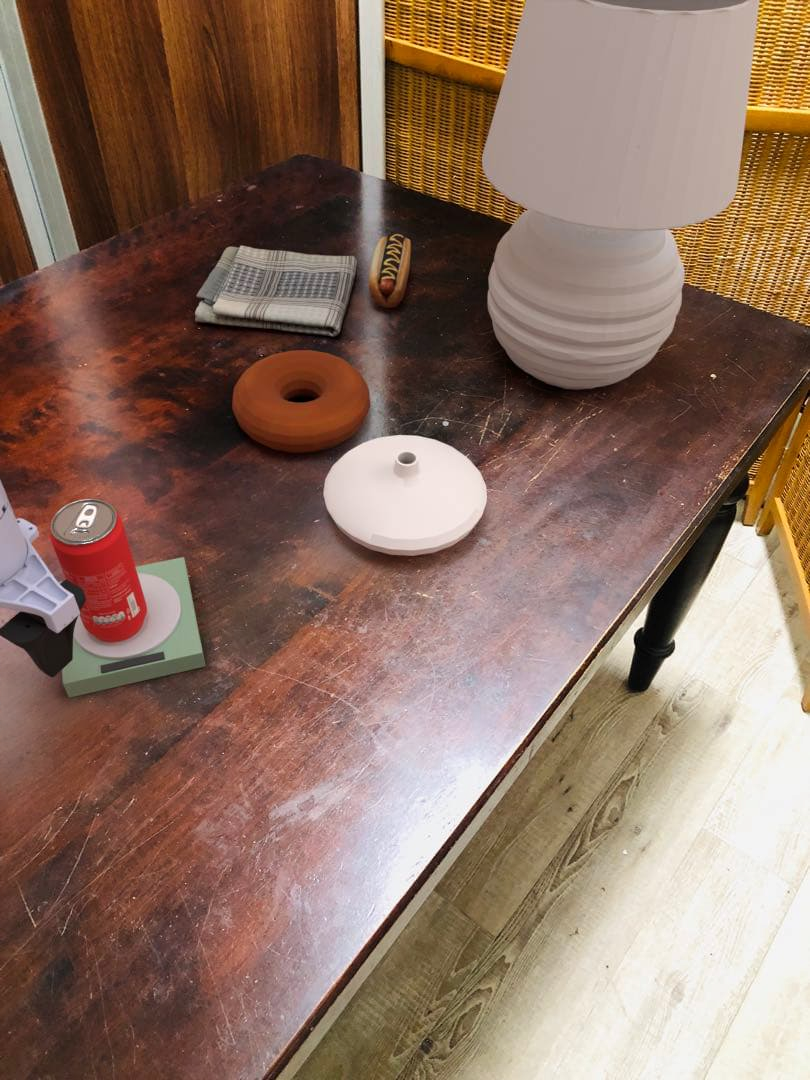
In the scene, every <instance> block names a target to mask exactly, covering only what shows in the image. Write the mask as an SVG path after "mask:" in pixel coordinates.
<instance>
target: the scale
mask: <svg viewBox="0 0 810 1080" xmlns="http://www.w3.org/2000/svg"><path fill="white" fill-rule="evenodd" d="M135 567H136V570H137V574H138V577H139V581H140V584H141V588H142V591H143V595H144V598H145V601H146V605H147V613H146V616H145V619H144V624H143V626H142V628H141V629H140V630H139V632H138V633H137V634H135V635H134V636H133V637H131V638H129V639H127V640H125V641H122V642H117V643H108V642H103V641H101V640H99V639H97V638H96V637H95V636H94V635H92V634H90V633H89V632H88V631H87V630H86V629H85V627H84V625H83V623H82V620H81V618H80V615H79V616H78V618H77V621H76V624H75V628H74V634H73V660H72V661H71V662H70V663H69V664H68V665H67V666H65V667H64V668H63V669H62V670H61V676H62V677H61V679H62V686H63V688H64V690H65V692H66V694H67V697H68V698H74V697H78V696H82V695H87V694H92V693H96V692H101V691H104V690H108V689H113V688H119V687H121V686H127V685H131V684H134V683H139V682H144V681H148V680H152V679H157V678H161V677H167V676H171V675H175V674H179V673H182V672H186V671H191V670H196V669H200V668H205V667H206V665H207V664H206V661H205V655H204V650H203V645H202V640H201V633H200V629H199V625H198V624H199V623H198V620H197V615H196V610H195V609H196V608H195V603H194V599H193V598H194V597H193V594H192V588H191V582H190V578H189V572H188V568H187V564H186V559H185V557H184V556H182V557H176V558H173V559H167V560H161V561H157V562H156V561H155V562H151V563H147V564H143V565H137V566H136V565H135ZM63 581H64V580H63ZM63 581H58V583H59V584H61V583H62V582H63Z"/></svg>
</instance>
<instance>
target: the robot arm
mask: <svg viewBox="0 0 810 1080" xmlns="http://www.w3.org/2000/svg"><path fill="white" fill-rule="evenodd" d="M39 536H40V531H39V529H38V527H37V526H36V524H33V523H31V522H29V521H28V520H26V519H24V518H22V517H21V518H20V517H19V518H17V517H16V515H15V512H14V510H13V508H12V504H11V503H10V500H9V498H8V494H7V493H6V490H5V488H4V485H3V483H2V480H1V479H0V609H5V610H11V611H17V613H16V614H14V616H12V617H11V618H10V619H9V620H8V621H7V622H6V623H4V624H3V625H2V626H1V627H0V637H2V638H3V639H5V640H7V641H8V642H10V643H11V644H13V645H15V646H16V647H18V648H20V649H22V650H24V651H25V653H27V655H28V656H29V657H30V659H31V660H32V662H33V663H34V664H35V666H36V667H37V668H38V669H39V670H40V672H42V673H43V674H45V675H46V676H48V677H49V678H51V679H53V678H55V677H56V676H57V675H58V674H59V673H60V672H62V669H63V668H64V667H65V666H67V665H68V664H69V663H70V662H71V661H72V660H73V634H74V628H75V624H76V621H77V618H78V616H79V614H80V611H81V609H82V607H83V605H84V603H85V602H86V597H85V594H84V591H83V589H82V588H80V587H79V586H77V585H75V584H74V583H72V582H70V581H68V580H66V579H64V580H63V582H62V583H61V584H59V583H58V582H59V581H58V580H57V578H55V576H54V575H53V573H52V572H51V570H50V569H49V567H48V566H47V564H46V563H45V562H44V560H43V558H41V556H40V554H39V552H37V550H36V549H35V547H34V546H33V544H32V543H33V542H34V541H35V540H37V538H38V537H39Z"/></svg>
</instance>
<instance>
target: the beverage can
mask: <svg viewBox="0 0 810 1080" xmlns="http://www.w3.org/2000/svg"><path fill="white" fill-rule="evenodd" d="M51 519H52V520H51V521H50V533H49V537H50V541H51V545H52V547H53V551H54V552H55V554H56V557H57V560H58V562H59V565H60V568H61V570H62V574H63V575H64V578H65V580H68V581H70V582H72V583H74V584H75V585H77V586H79V587H80V588H82V589H83V591H84V594H85V597H86V602H85V603H84V605H83V607H82V609H81V611H80V614H79V615H80V618H81V620H82V623H83V625H84V627H85V629H86V630H87V631H88V632H89V633H90V634H92V635H94V636H95V637H96V638H97V639H99V640H101V641H103V642H108V643H117V642H122V641H125V640H127V639H129V638H131V637H133V636H134V635H135V634H137V633H138V632H139V630H140V629H141V628H142V626H143V624H144V619H145V616H146V613H147V605H146V601H145V598H144V595H143V591H142V588H141V584H140V581H139V577H138V574H137V570H136V564H135V560H134V557H133V553H132V550H131V547H130V543H129V540H128V536H127V532H126V529H125V525H124V523H123V519H122V517H121V515H120V514H119V513H118V511H116V509H115V507H113V506H112V505H111V504H110V503H109V502H106V501H104V500H101V499H96V498H85V499H79V500H75V501H73V502H70V503H67V504H66V505H64V506H62V507H61V508H60V509H59V510H58V511H57V512H56V513H55V514H54V516H53V518H51Z"/></svg>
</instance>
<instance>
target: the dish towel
mask: <svg viewBox="0 0 810 1080" xmlns="http://www.w3.org/2000/svg"><path fill="white" fill-rule="evenodd" d="M357 269H358V260H357V258H356V257H355V256H353V255H326V254H325V255H323V254H321V255H320V254H307V253H301V252H295V251H288V250H274V249H273V250H271V249H261V248H254V247H251V246H246V245H240V246H239V247H236V246H228V247H226V248H225V249H224V251H223V253H222V255H221V256H220V259H219V260H218V261H217V264H216V265H215V267H214V268H213V270H212V271H211V272H210V273H209V275H208V277H207V279H206V280H205V281H204V283H203V284H202V286H201V287H200V289H199V290H198V292H197V294H196V298H197V299H201V300H200V302H199V303H198V306H197V307H196V309H195V312H194V316H195V319H194V321H195V322H196V323H205V324H213V325H214V324H215V325H219V326H220V325H221V326H233V327H241V328H256V329H265V330H266V329H267V330H278V331H284V332H289V333H290V332H291V333H301V334H307V335H319V336H328V337H336V336H338V335H339V334H340V333H341V328H342V325H343V320H344V318H345V315H346V312H347V309H348V306H349V302H350V298H351V293H352V291H353V286H354V283H355V278H356V274H357Z"/></svg>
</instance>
